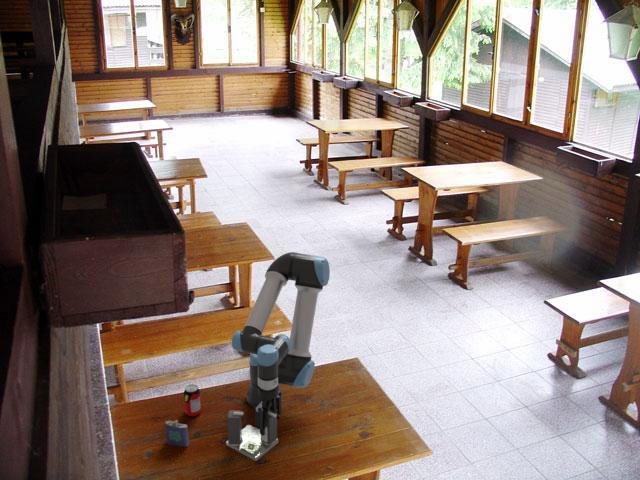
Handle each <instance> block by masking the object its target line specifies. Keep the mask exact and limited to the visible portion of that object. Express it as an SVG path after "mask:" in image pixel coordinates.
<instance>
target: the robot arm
mask: <svg viewBox="0 0 640 480" xmlns="http://www.w3.org/2000/svg"><path fill="white" fill-rule="evenodd" d="M264 278H265V280H264V282H263V285H262V287H261V289H260V291H259V293H258V295H257V298H256V300H255V303H254V305H253V307H252V308H251V311H250V314H249V316H248V318H247V320H246V323H245V325H244V328H243V329H242V330H236V331H235V332H234V333H233V335H232V338H231V347H232V349H233V350H236V351H237V352H241V353H248V354H250V355H249V379H250V383H249V386H248V389H247V392H246V402H247V404H248V405H250V406H251V407H253V409H254V411H255V428H257V429H259V430H260V434H261V440H263V441H264V442H268V435H267V427H266V423H267V416H268V412H269V411H270V410H272V411H274V412H276V413H277V421H278V420H281V419H280V418H281V416H282V401H283V391H282V388H281V386H280V384H281V385H285V386H289V387H293V388H299V389H303V388H304V389H305V388H306V387H308V385H309V383H310V382H311V380H312V377H313V376H314V372H315V368H316V366H315V364H316V363H315V361H314V360H312V357H313V356H312V354H311V352H310V346H311V338H312V333H313V327H314V320H315V314H316V308H317V303H318V297H319V293H321V292H322V291H323V288H324V287H326V286H328V284H329V281H330V264H329V261H328V259H327V258H326V257H324V256H319V255H314V254H306V253H299V252H293V251H291V252H286V253H284V254H282V255H280V256H278V257H277V258H276V259H274V261H273V262H271V264H270V265H269V266H268V267H267V270H266V272H265V274H264ZM288 281H294V287H295V288H296V289H297V293H296V298H295V304H294V310H293V317H292V323H291V329H290V336H287V335H286V334H284V333H283V334H281V333H280V334H277V335H275V336H274V337H271V336H266V335H263V333H264V330H265V328H266V325H267V323H268V321H269V319H270V317H271V314H272V311H273V310H274V307H275V305H276V303H277V300H278V297H280V294H281V292H282V288H284V287H285V286H286V285H287V284H288Z"/></svg>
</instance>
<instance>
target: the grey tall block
mask: <svg viewBox="0 0 640 480" xmlns="http://www.w3.org/2000/svg"><path fill="white" fill-rule="evenodd" d="M266 427H267V435H268V442H265V443H267V444H269V445H270V444H271V443H272V442H274V441H275V440H276V439H278V419H277V413H276V412H274V411H272V410H270V411H269V412H268V416H267V423H266ZM262 441H263V440H262ZM263 442H264V441H263Z"/></svg>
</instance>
